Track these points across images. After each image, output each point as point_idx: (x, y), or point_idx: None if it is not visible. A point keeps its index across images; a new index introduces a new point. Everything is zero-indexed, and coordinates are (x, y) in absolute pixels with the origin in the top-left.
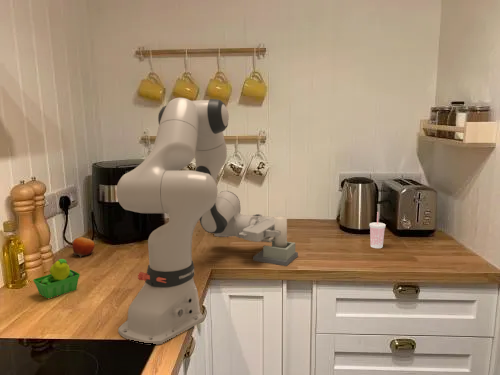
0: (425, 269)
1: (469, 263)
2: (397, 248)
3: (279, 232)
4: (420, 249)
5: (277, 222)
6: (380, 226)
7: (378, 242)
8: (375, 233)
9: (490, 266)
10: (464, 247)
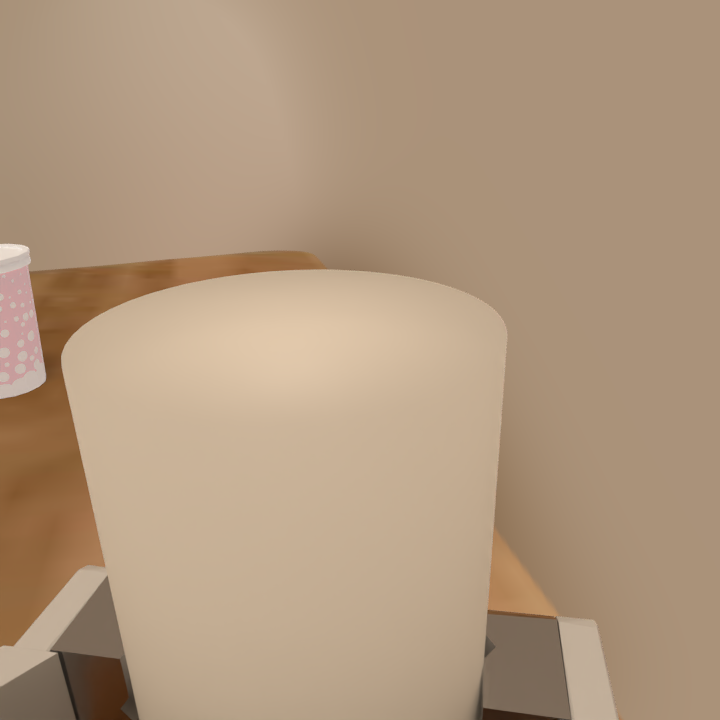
0: None
1: (245, 265)
2: (64, 343)
3: (555, 620)
4: (93, 310)
5: (496, 451)
6: (27, 249)
7: (40, 347)
8: (22, 301)
9: (264, 252)
10: (90, 267)
